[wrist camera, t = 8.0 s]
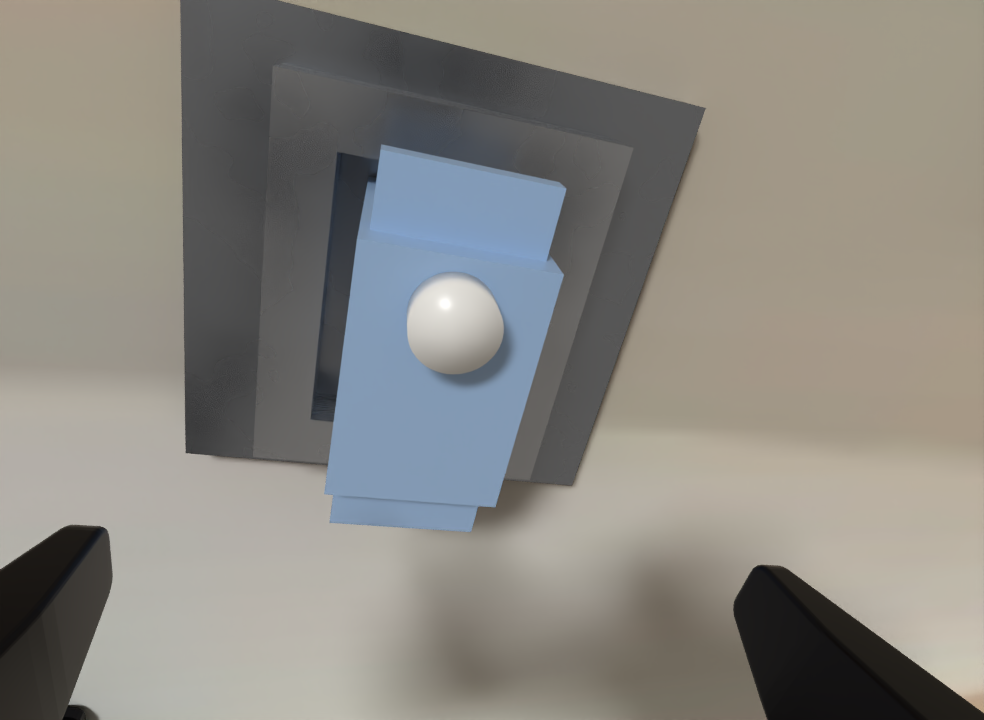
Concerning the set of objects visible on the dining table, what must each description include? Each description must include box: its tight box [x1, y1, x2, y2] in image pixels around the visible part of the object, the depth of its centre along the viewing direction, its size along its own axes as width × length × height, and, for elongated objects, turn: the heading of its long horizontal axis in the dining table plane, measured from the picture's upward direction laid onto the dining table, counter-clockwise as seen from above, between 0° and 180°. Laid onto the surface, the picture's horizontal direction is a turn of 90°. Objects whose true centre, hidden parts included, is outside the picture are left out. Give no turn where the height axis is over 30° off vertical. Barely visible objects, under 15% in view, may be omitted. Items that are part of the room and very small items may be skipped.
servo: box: [324, 144, 566, 532], centre depth 15 cm, size 9×4×6 cm, turn 167°
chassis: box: [180, 0, 706, 485], centre depth 17 cm, size 13×13×2 cm
